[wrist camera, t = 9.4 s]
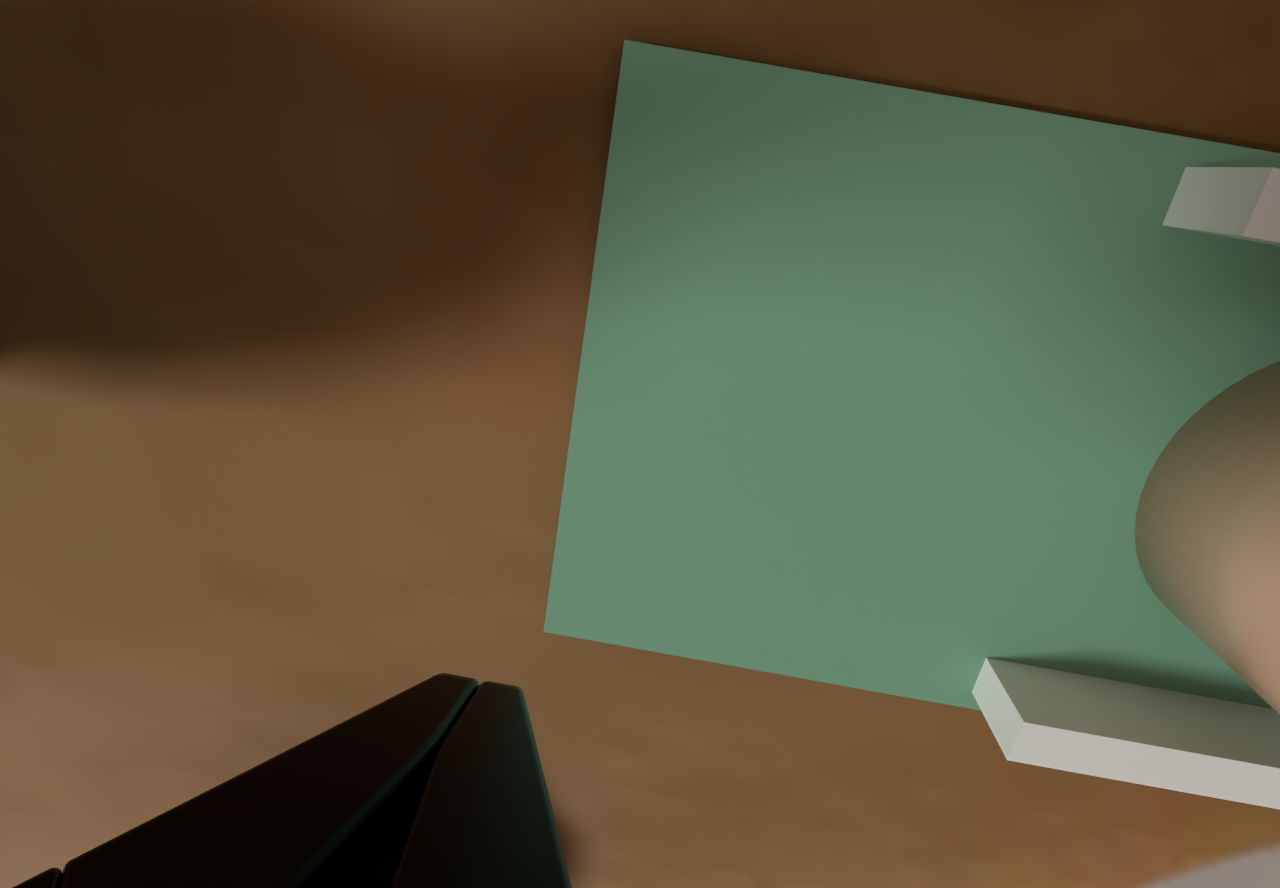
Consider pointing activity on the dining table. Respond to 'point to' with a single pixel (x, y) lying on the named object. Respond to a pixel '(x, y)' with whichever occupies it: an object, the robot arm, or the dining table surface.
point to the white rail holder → (1134, 714)
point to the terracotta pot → (1222, 528)
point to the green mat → (890, 381)
